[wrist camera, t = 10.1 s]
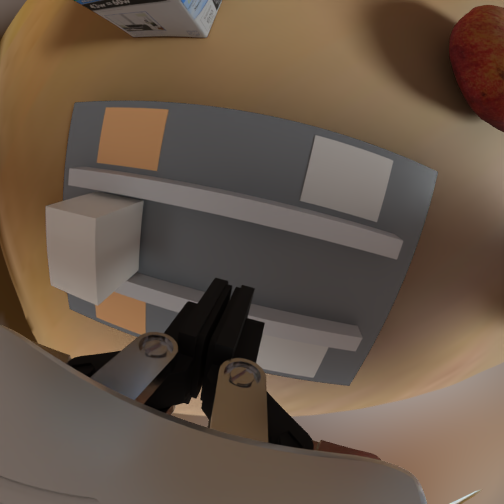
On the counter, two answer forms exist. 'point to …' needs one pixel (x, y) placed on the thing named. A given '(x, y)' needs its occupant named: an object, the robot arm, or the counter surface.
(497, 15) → the fruit
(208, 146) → the switch board
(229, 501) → the robot arm
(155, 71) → the counter surface
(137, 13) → the light bulb box
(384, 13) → the counter surface
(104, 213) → the switch tab
